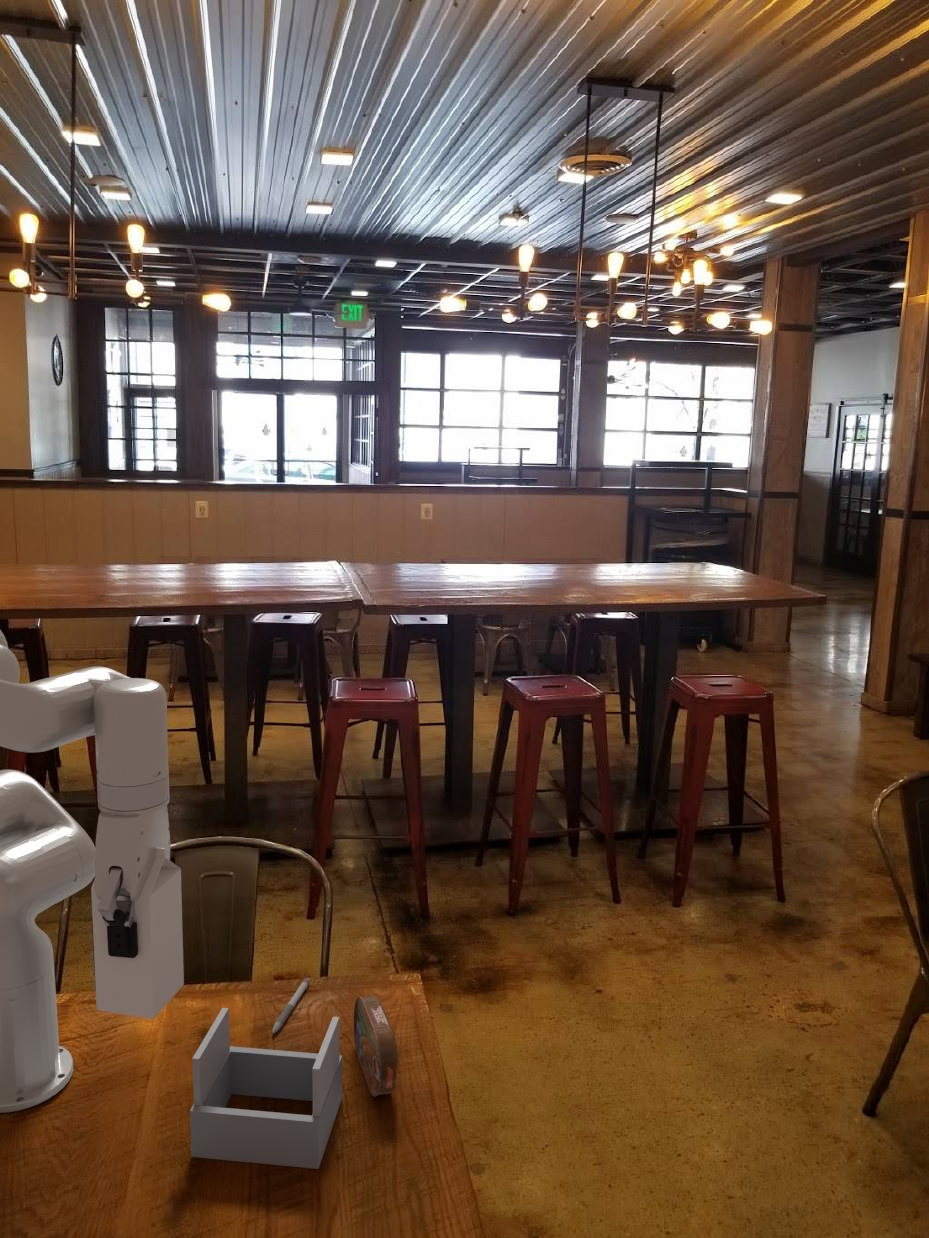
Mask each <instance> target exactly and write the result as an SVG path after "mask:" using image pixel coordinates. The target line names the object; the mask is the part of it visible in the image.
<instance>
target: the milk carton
mask: <svg viewBox="0 0 929 1238" xmlns="http://www.w3.org/2000/svg"><path fill="white" fill-rule="evenodd" d="M162 866H163V868H162V869H161V867H162ZM181 869H182V868H180V867H179V865H177V864H175V863H174V862H173V861H171V859H170V860H169V859H167V858H166V850H165V848H159V847H156V858H155V860H154V863H153V866H152V868H151V871H150V873H149V876H148V878H147V880H146V883H145V885H144V888H143V890H142V892H141V895H140V898H139V899H138V900H136V901H135V914H134V920H133V922H135V923H137V937H138V955H137V956H136V957H135V958H125V957H113V956H109V954H108V940H107V925H105V921H104V920H103V918H102V915H101V913H100V912H99V910H98V904H99V901H100V899H98V898H97V896H96V893H95V879H94V881H93V882H92V885H91V887H90V890H91V891H90V892H91V909H92V910H91V914H92V915H91V916H92V938H93V958H94V959H93V960H94V979H95V980H94V981H95V982H94V983H95V1002H96V1003H95V1004H96V1010H97V1011H99V1012H105V1013H112V1014H116V1015H117V1014H118V1015H124V1016H129V1017H137V1018H143V1019H149V1020H154V1019H155V1018H156V1017H157V1016H158V1014H159V1013H161V1011H162V1010H163V1009H164V1008H165V1007H166V1006H167V1004H168V1003H169V1002H170V1001H171V1000H172V999H173V998H174V996H175V995H177V994H178V992H179V991H180V989H182V987H183V986H184V985H185V982H184V981H185V979H184V946H183V945H184V943H183V942H184V940H183V939H184V937H183V936H184V935H183V934H184V933H183V902H182V901H183V900H182V898H183V896H182V870H181ZM160 870H161V871H160ZM118 895H122V896H130V892H127V891H126V889H120V891H119V894H118ZM127 904H128V902H123V901H116V905H117V909H121V910H122V911H123V912H124V913H125V914H126V909H127Z"/></svg>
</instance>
